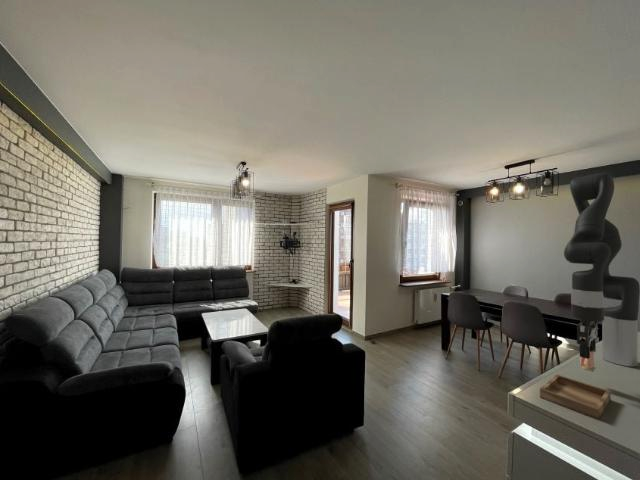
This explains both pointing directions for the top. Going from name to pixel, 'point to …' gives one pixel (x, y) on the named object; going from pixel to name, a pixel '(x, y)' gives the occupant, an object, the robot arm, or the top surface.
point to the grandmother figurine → (589, 362)
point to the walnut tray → (576, 396)
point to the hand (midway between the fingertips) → (587, 354)
